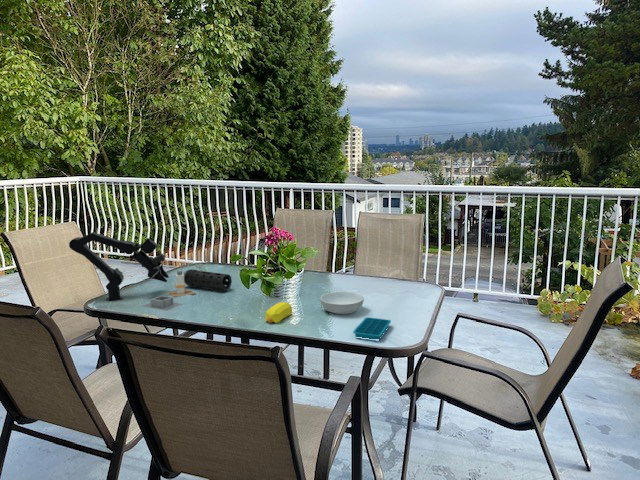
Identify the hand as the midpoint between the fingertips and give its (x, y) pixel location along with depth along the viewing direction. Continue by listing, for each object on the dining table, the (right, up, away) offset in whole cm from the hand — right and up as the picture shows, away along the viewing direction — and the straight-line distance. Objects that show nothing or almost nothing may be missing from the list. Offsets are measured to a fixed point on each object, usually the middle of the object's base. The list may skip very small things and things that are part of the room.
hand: (167, 279), depth 249 cm
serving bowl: (+93, -13, -25) cm, 97 cm away
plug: (+6, -7, +3) cm, 10 cm away
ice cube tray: (+104, -18, -52) cm, 118 cm away
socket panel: (+4, -12, -18) cm, 22 cm away
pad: (+6, -8, +3) cm, 11 cm away
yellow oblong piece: (+63, -15, -35) cm, 74 cm away
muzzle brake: (+18, -7, +14) cm, 24 cm away
